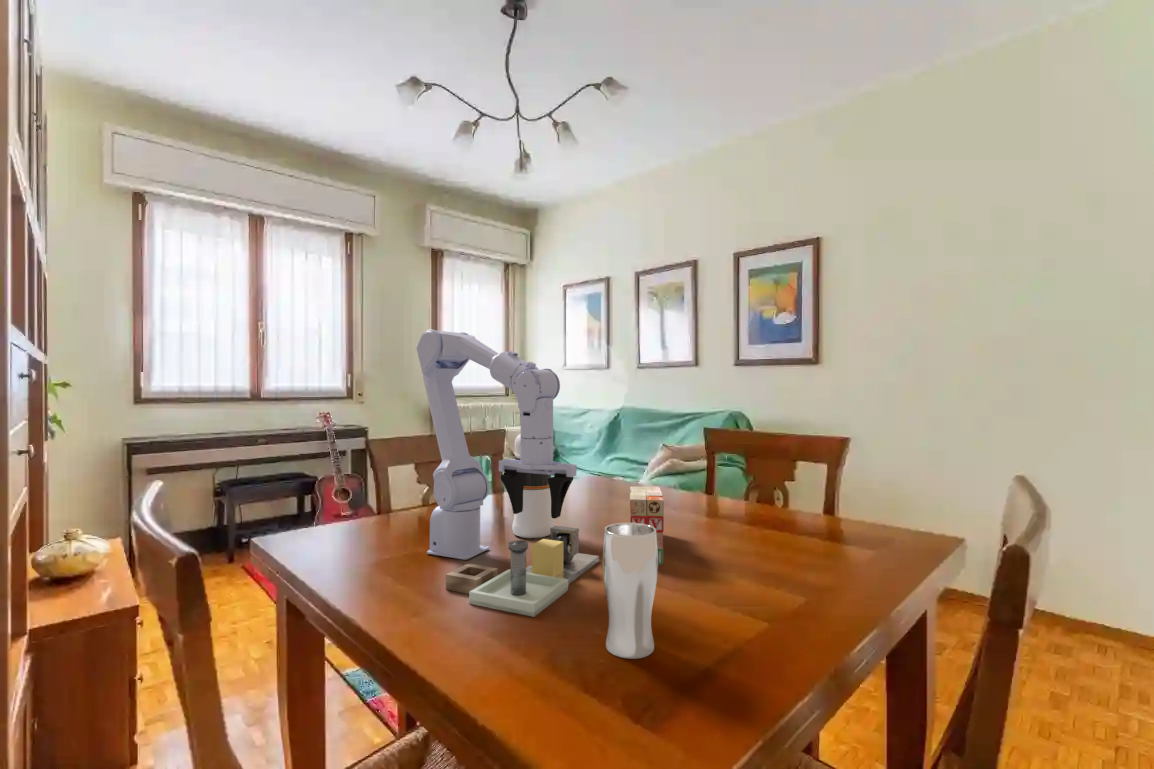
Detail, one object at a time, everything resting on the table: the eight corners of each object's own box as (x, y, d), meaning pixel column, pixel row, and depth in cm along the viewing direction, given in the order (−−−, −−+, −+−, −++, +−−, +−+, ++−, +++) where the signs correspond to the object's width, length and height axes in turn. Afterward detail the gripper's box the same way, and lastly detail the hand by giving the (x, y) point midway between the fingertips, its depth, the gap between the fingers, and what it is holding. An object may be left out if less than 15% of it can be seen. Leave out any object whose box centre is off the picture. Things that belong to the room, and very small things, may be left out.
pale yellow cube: (531, 574, 94) (531, 544, 94) (543, 567, 97) (543, 538, 97) (552, 577, 92) (552, 547, 92) (563, 570, 96) (563, 541, 96)
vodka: (524, 541, 116) (525, 399, 116) (505, 531, 124) (505, 398, 124) (562, 535, 121) (562, 398, 121) (541, 526, 129) (541, 397, 129)
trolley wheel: (515, 579, 94) (515, 538, 94) (556, 555, 107) (556, 518, 107) (563, 588, 90) (563, 545, 90) (598, 561, 104) (599, 524, 104)
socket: (445, 589, 90) (445, 574, 90) (468, 577, 95) (468, 563, 95) (476, 595, 87) (476, 580, 87) (497, 582, 92) (497, 568, 92)
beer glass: (599, 635, 73) (599, 522, 73) (651, 633, 74) (651, 521, 74) (606, 662, 66) (606, 537, 66) (663, 660, 67) (664, 535, 67)
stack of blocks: (629, 533, 124) (629, 478, 124) (657, 534, 123) (658, 478, 123) (629, 564, 102) (629, 498, 102) (663, 565, 102) (664, 498, 102)
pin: (505, 594, 86) (505, 544, 86) (514, 588, 88) (514, 539, 88) (522, 598, 84) (522, 546, 84) (531, 591, 87) (531, 541, 87)
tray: (469, 603, 84) (469, 591, 84) (508, 579, 94) (508, 569, 94) (534, 616, 79) (534, 604, 79) (568, 590, 89) (568, 579, 89)
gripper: (489, 437, 97) (489, 515, 97) (563, 441, 91) (563, 524, 91) (510, 434, 103) (510, 507, 103) (581, 437, 97) (581, 515, 97)
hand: (536, 514), depth 97 cm, fingers open, 7 cm apart
